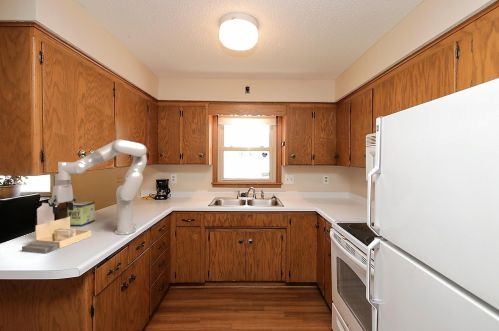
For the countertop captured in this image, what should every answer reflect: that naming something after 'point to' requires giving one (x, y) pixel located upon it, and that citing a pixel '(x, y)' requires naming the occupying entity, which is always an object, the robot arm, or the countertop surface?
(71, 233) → the block
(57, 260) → the countertop surface
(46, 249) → the block
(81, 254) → the countertop surface
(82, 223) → the protein box
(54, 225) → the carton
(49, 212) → the milk
